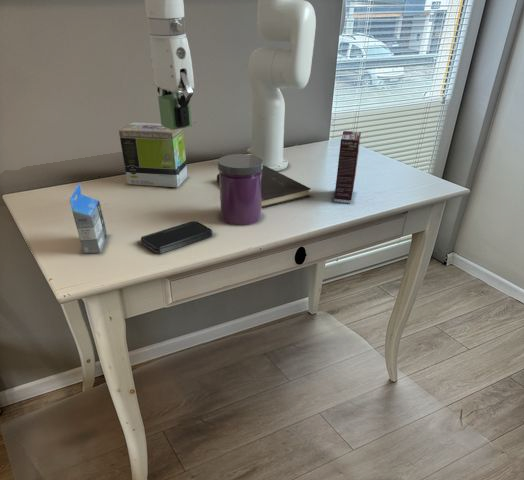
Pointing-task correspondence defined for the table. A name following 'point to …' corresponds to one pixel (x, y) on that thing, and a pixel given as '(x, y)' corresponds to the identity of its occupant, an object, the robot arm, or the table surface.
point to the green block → (169, 111)
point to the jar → (240, 188)
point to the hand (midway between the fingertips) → (176, 122)
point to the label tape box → (88, 221)
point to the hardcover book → (279, 188)
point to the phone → (176, 237)
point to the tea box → (153, 154)
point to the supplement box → (347, 166)
